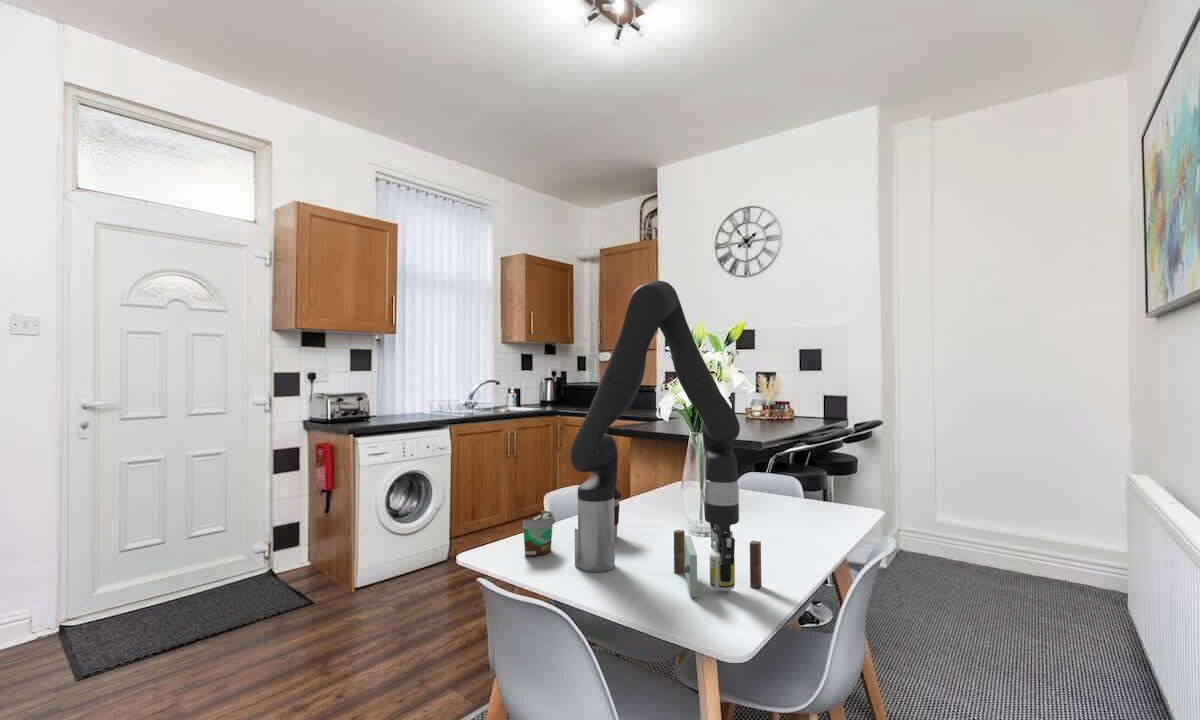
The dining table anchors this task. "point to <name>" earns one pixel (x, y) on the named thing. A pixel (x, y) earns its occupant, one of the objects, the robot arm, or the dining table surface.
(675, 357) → the robot arm
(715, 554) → the supplement bottle
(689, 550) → the door
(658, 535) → the dining table surface
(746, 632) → the dining table surface
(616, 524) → the coffee cup
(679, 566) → the door frame
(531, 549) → the food container
